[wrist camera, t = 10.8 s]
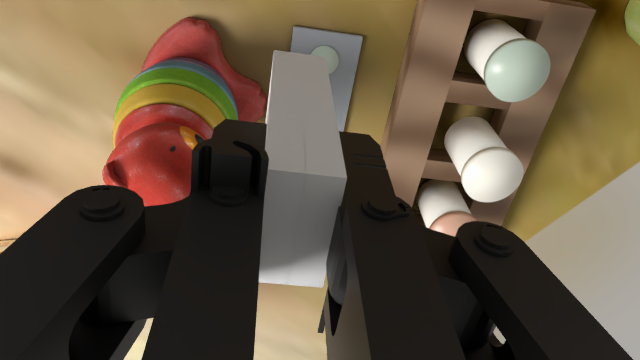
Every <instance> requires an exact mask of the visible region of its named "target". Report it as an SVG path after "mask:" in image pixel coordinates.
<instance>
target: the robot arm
mask: <svg viewBox="0 0 640 360" xmlns="http://www.w3.org/2000/svg"><path fill="white" fill-rule="evenodd" d="M383 158H384V157H383V154H382V150H381V147H380V145H379V144H378V143H377V142H376V141H375V140H374V139H373V138H372V137H371V136H370V135H366V134H358V133H350V132H342V131H339V130H338V124H337V119H336V113H335V108H334V102H333V96H332V91H331V85H330V80H329V74H328V68H327V63H326V57H322V56H315V55H308V54H301V53H293V52H286V51H279V50H274V53H273V61H272V70H271V79H270V87H269V96H268V105H267V114H266V122H265V124H264V123H255V122H247V121H239V120H231V119H225V120H223V121H222V122H221V123H220V124H218V125H217V126H216V127H214V130H213V134H212V137H211V139H206V140H204V141H202V142H200V143H198V144H197V145H196V146H195V147H194V149H193V150H192V163H191V191H190V194H189V196H187V197H186V198H184V199H182V200H179V201H176V202H173V203H168V204H162V205H154V206H144V202H143V199H142V198H141V197H140V196H139V195H138V194H137V193H136V192H135V191H132V190H130V189H127V188H125V187H121V186H113V185H98V186H91V187H87V188H84V189H81V190H77V191H75V192H74V193H72V194H70V195H69V196H67V197H65V198H64V199H63V200H62V201H61V202H59V203H58V204H57V205H56V206H55V207H54V208H52V209H51V210H50V211H49V212H48V213H47V214H45V215H44V216H43V217H42V218H41V219H40V220H39V221H37V222H36V223H35V224H34V225H33V226H32V227H30V228H29V229H28V230H27V231H26V232H25V233H24V234H22V235H21V236H20V237H19V238H18V239H17V240H15V241H14V242H13V243H12V244H11V245H10V246H9V247H7V248H6V249H5V250H4V251H3V252H2V253H0V360H123V359H124V358H125V356H126V354H127V353H128V351H129V350H130V348H131V347H132V345H133V343H134V342H135V340H136V339H137V337H138V336H139V334H140V333H141V331H142V329H143V328H144V325H145V323H146V320H147V319H148V318H153V317H154V319H153V322H152V326H151V329H150V333H149V336H148V340H147V343H146V347H145V350H144V353H143V357H142V360H253V356H254V342H255V327H256V312H257V298H258V283H259V282H261V283H274V284H286V285H298V286H310V287H322V288H323V284H324V279H325V275H326V270H327V280H328V288H327V293H326V297H325V301H324V306H323V310H322V314H321V319H320V323H319V328H318V333H323V331H324V327H325V331H326V345H327V359H328V360H633V359H632V358H631V357H630V356H629V355H628V354H627V352H626V351H624V349H623V348H622V347H621V346H620V345H619V344H618V343H617V342H616V341H615V340H614V339H613V338H612V336H611V335H610V334H609V333H608V332H607V331H606V330H605V329H604V328H603V327H602V326H601V324H600V323H599V322H598V321H597V320H596V319H595V318H594V317H593V316H592V315H591V314H590V313H589V312H588V310H587V309H586V308H585V307H584V306H583V305H582V304H581V303H580V302H579V301H578V300H577V299H576V298H575V296H573V294H572V293H571V292H570V291H569V290H568V289H567V288H566V287H565V286H564V285H563V284H562V282H561V281H560V280H559V279H558V278H557V277H556V276H555V275H554V274H553V273H552V272H551V271H550V270H549V268H548V267H547V266H546V265H545V264H544V263H543V262H542V261H541V260H540V259H539V258H538V257H537V255H535V253H534V252H533V251H532V250H531V249H530V248H529V247H528V246H527V245H526V244H525V243H524V241H522V240H521V239H520V238H519V237H518V236H516V235H515V234H514V233H513V232H511V231H509V230H507V229H505V228H503V227H502V226H500V225H497V224H493V223H490V222H483V221H471V222H467V223H464V224H463V225H461V226H460V227H459V228H458V230H457V233H456V235H455V236H451V235H448V234H445V233H441V232H438V231H435V230H432V229H429V228H427V227H424V226H422V225H420V224H419V223H418V220H417V218H416V215H415V212H414V211H413V209H412V208H411V206H410V205H409V204H408V203H406V202H405V201H404V200H402V199H401V198H399V197H397V196H396V195H395V192H394V189H393V186H392V182H391V179H390V176H389V173H388V170H387V169H386V167H387V166H386V163H385V160H384V159H383ZM496 326H497V328H498V329H499V331H500V332H501V333H502V335H503V336H504V337H505V339H506V341H505V343H504V344H502V343H500V341H499V340H498V339H497V338H496V336H495V335H494V333H493V331H494V329H495V327H496Z"/></svg>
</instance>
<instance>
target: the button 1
mask: <svg viewBox="0 0 640 360" xmlns="http://www.w3.org/2000/svg"><path fill="white" fill-rule="evenodd" d="M416 200H417V204H418V206H419V209H420V212H421V215H422V217H423V220H424V223H425V225H426V227H427V228H429V229H432V230H435V231H438V232H441V233H445V234H448V235H451V236H455V235H456V233H457V230H458V228H459V227H460V226H461V225H463V224H464V223H467V222H471V221H477V220H476V218H475V217H474V216H473V215H472V214H471V212H470V210H469V209H468V207H467V205H466V203H465V201H464V199H463V197H462V195H461V193H460V191H459V189H458V187H457V185H456V184H455V183H454V182H453V181H446V180H438V179H431V180H429V181H427V182H426V183H424V184H423V185H422V186H421V187H420V189H419V190H418V192H417V196H416Z"/></svg>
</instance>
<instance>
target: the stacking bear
mask: <svg viewBox="0 0 640 360" xmlns="http://www.w3.org/2000/svg"><path fill="white" fill-rule="evenodd" d="M266 101H267V97H266V95H265V93H264V92H262V90H261V86H260V85H259V84H258V83H257V82H255V81H253V80H250V79H248V78H246V77H243V76H241V75H240V74H238V73H237V72H236V71H234V70H233V69H232V68H231V67H230V65H229V64H228V63H227V61H226V60H225V58H224V56H223V54H222V50H221V45H220V38H219V36H218V33H217V32H216V30H214V29H213V28H211V27H210V25H209V23H208V22H207V21H205V20H196V19H195V18H185V19H182V20H180V21H179V22H177V23H176V24H174V25H173V26H172V27H170V28H169V29H168V30H167V31H166V32H165V33H164V34H163V35H162V36H161V37H160V38H159V39H158V40H157V41H156V43H155V44H154V46H153V47H152V48H151V50H150V52H149V54H148V55H147V57H146V60H145V62H144V65H143V67H142V71H141V73H140V74H139V75H138V76H136V77H135V78H134V79H133V80H132V81H131V82H130V83H129V85H128V86H127V87H126V88H125V90H124V91H123V93H122V95H121V97H120V99H119V102H118V105H117V108H116V112H115V117H114V126H113V145H114V150H113V151H112V153H111V154H110V156H109V158H108V160H107V163H106V165H105V166H104V169H103V172H102V175H103V180H104V183H105V185H113V186H121V187H125V188H127V189H130V190H132V191H135V192H136V193H137V194H138V195H139V196H140V197H141V198H142V199H143V202H144V206H154V205H162V204H168V203H173V202H176V201H179V200H182V199H184V198H186V197H187V196H189V194H190V191H191V163H192V150H193V149H194V147H195V146H196V145H197V144H198V143H200V142H202V141H204V140H206V139H211V137H212V134H213V130H214V127H216V126H217V125H218V124H220V123H221V122H222V121H223V120H225V119H231V120H239V121H247V122H256V121H257V120H258V119H259V118H261V116H262V115H263V114H264V112H265V103H266Z"/></svg>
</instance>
